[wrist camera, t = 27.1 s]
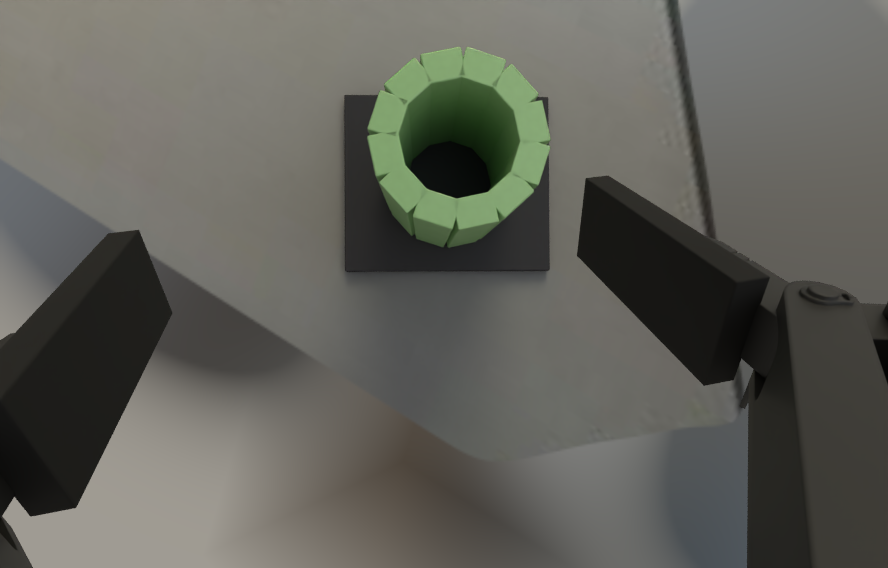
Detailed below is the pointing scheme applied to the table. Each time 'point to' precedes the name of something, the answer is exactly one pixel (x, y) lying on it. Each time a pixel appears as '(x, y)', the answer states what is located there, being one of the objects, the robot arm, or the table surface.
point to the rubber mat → (447, 172)
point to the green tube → (458, 141)
